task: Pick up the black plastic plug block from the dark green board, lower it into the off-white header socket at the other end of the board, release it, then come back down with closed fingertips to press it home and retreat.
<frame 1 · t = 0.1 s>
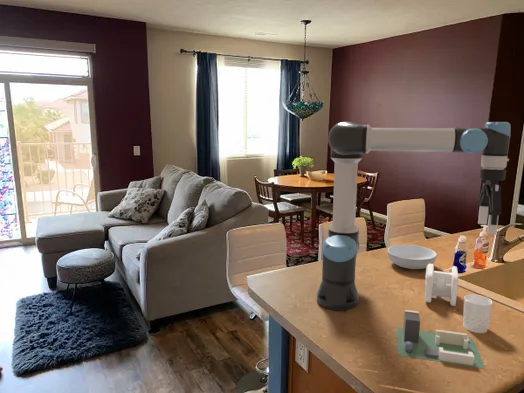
hand: (486, 228, 138), 28 cm above the counter, fingers open, 13 cm apart
board: (436, 347, 115), on the counter
cable organizer: (439, 299, 147), on the counter
plug: (410, 337, 120), resting on board
serving bowl: (410, 266, 181), on the counter
white cup: (474, 329, 126), on the counter
header: (452, 352, 112), resting on board
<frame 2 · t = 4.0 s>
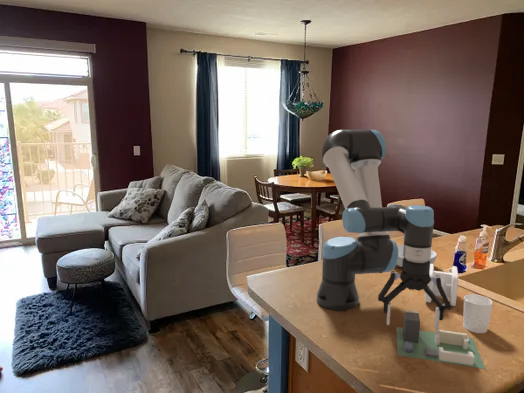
hand: (411, 326, 119), 4 cm above the counter, fingers open, 13 cm apart
nothing on the counter moved.
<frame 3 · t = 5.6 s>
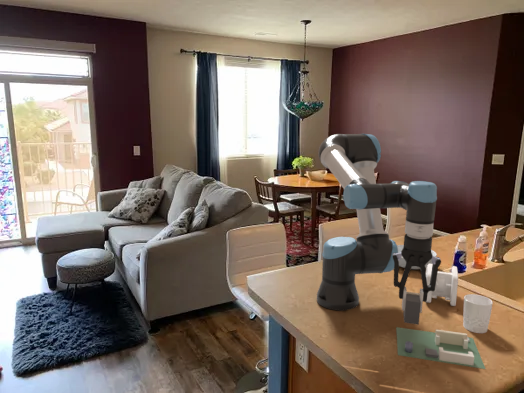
hand: (411, 309, 119), 9 cm above the counter, fingers closed on plug, 4 cm apart
plug: (410, 318, 119), point 6 cm above the counter, touching gripper
everything else where it was.
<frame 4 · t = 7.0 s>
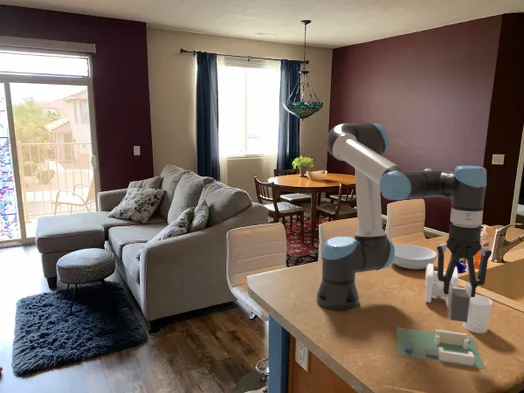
hand: (457, 306, 109), 14 cm above the counter, fingers closed on plug, 4 cm apart
plug: (456, 316, 109), point 12 cm above the counter, touching gripper
everything else where it was.
when the fingers open (3 cm above the counter, at t = 8.6 s): plug stays where it is, resting on board.
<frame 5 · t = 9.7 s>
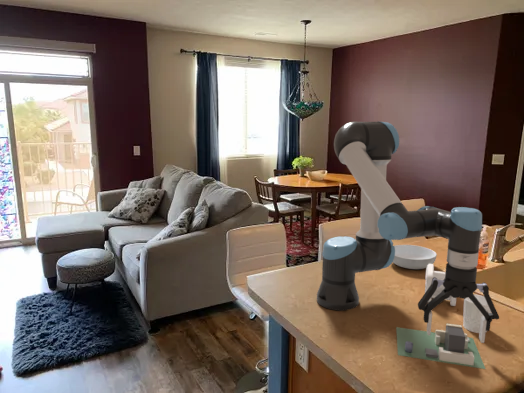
hand: (454, 336, 111), 5 cm above the counter, fingers open, 13 cm apart
plug: (453, 353, 112), resting on board
everything else where it was.
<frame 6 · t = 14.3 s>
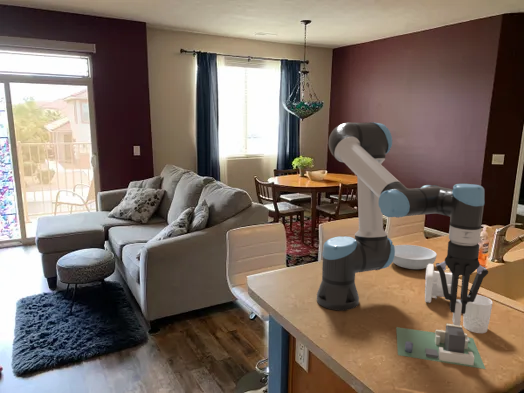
hand: (456, 323, 110), 9 cm above the counter, fingers closed
nothing on the counter moved.
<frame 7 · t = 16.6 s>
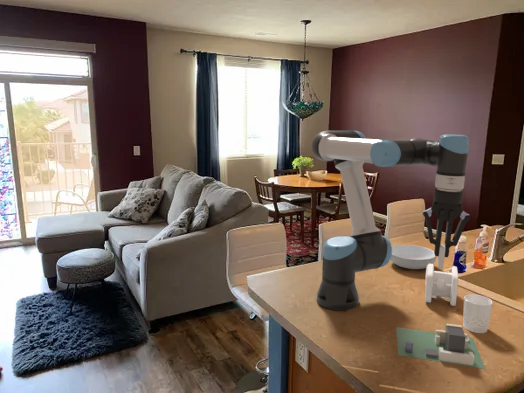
hand: (439, 266, 118), 22 cm above the counter, fingers closed
nothing on the counter moved.
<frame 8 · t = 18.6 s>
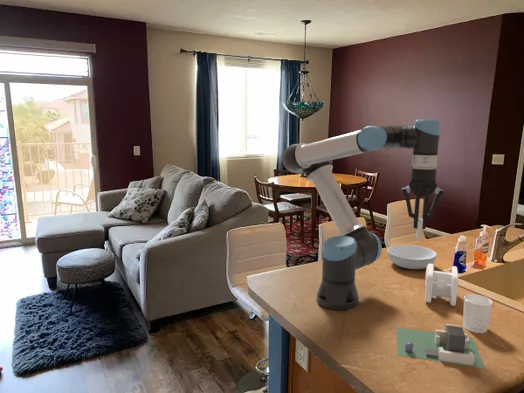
hand: (418, 237, 132), 26 cm above the counter, fingers closed
nothing on the counter moved.
at the end: plug 0.4 cm off-centre on the header, point 0.0 cm above the header's base; plug tilted 0°; the gripper is holding nothing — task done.
